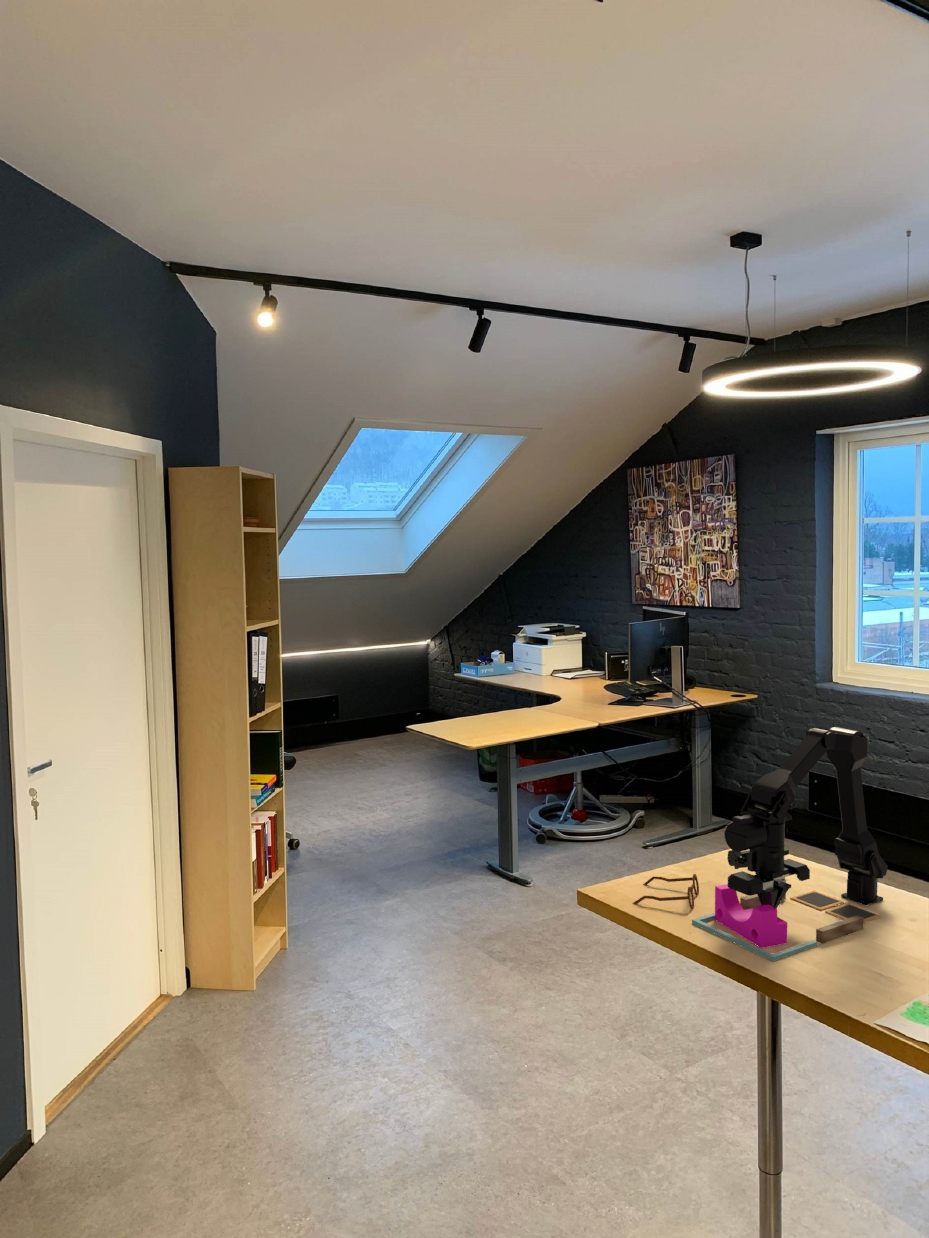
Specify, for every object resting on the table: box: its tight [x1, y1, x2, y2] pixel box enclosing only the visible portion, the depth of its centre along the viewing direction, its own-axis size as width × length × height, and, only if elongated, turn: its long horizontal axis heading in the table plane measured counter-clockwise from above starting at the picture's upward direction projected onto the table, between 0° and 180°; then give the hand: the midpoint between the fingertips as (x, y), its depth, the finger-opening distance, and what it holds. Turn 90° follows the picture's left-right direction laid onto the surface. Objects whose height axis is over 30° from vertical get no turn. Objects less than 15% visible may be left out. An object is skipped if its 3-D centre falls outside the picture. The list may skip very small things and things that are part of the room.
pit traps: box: [790, 890, 882, 924], centre depth 197 cm, size 8×17×1 cm, turn 31°
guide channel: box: [739, 893, 865, 945], centre depth 191 cm, size 13×21×2 cm, turn 31°
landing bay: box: [691, 912, 819, 962], centre depth 183 cm, size 13×21×1 cm, turn 31°
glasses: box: [632, 873, 700, 910], centre depth 204 cm, size 13×13×5 cm
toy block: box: [714, 883, 788, 949], centre depth 185 cm, size 15×6×8 cm, turn 20°
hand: (768, 917), depth 186 cm, fingers closed
